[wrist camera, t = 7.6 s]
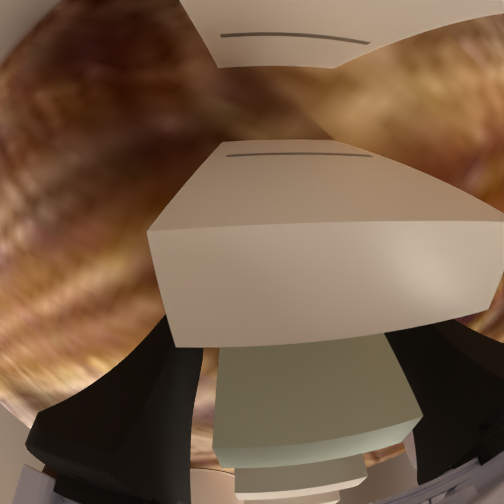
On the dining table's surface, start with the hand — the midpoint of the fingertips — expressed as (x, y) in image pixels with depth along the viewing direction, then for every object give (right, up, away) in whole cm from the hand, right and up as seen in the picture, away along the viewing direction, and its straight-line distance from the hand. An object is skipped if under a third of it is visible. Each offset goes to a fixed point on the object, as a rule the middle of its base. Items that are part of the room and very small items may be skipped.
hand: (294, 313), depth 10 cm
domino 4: (0, +6, +2) cm, 7 cm away
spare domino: (0, +2, +4) cm, 4 cm away
